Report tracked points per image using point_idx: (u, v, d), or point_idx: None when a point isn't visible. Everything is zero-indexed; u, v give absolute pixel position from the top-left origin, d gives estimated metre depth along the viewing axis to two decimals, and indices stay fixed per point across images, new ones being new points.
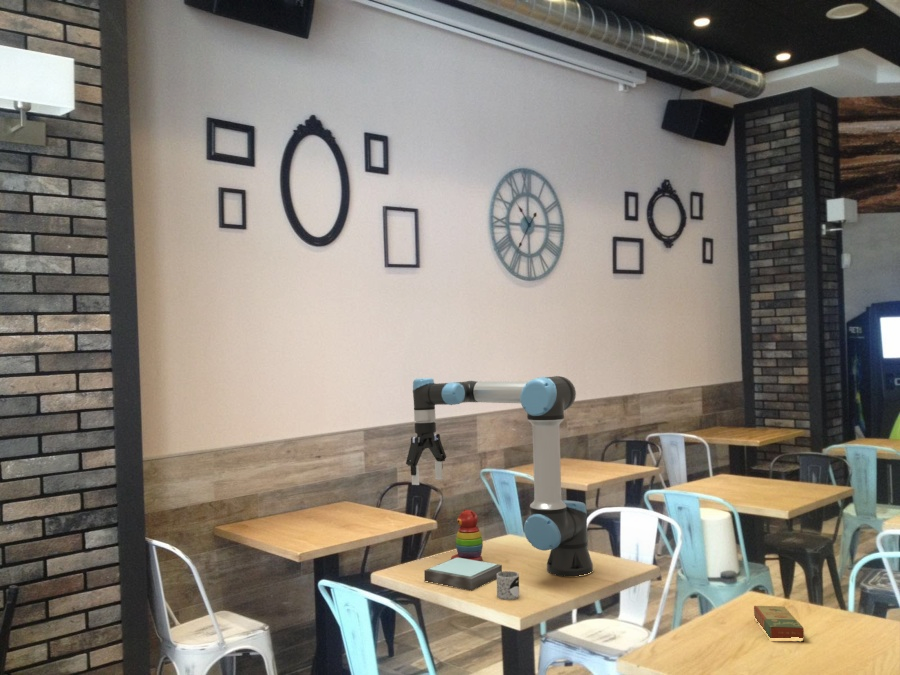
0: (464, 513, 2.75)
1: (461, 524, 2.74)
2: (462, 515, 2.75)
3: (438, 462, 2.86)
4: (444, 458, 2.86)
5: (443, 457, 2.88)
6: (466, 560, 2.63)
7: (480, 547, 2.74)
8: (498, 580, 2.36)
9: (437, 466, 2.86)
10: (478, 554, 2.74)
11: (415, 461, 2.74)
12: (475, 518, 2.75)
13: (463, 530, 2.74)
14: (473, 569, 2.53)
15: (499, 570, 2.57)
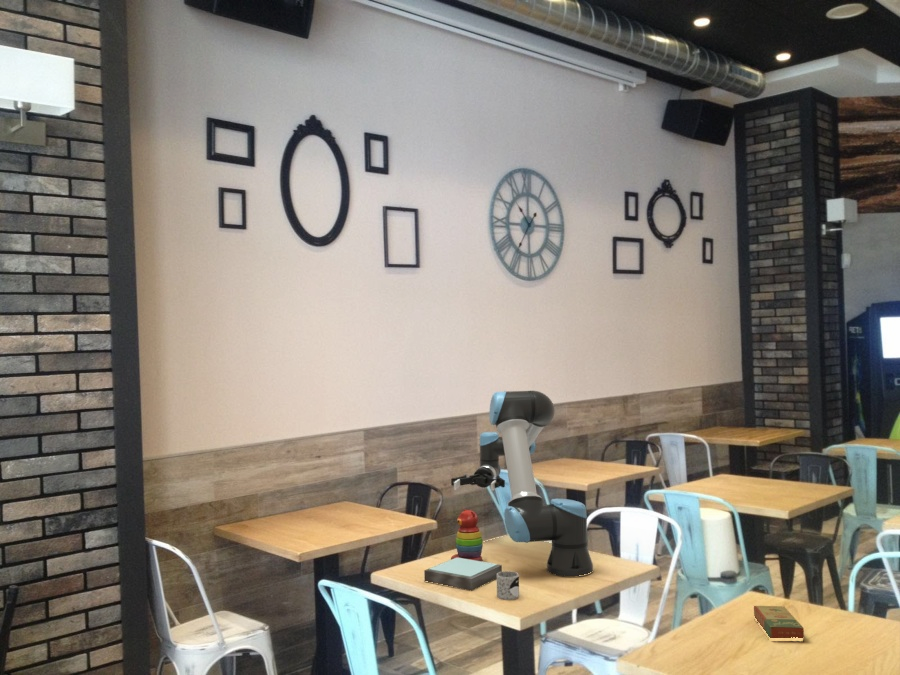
0: (464, 513, 2.75)
1: (461, 524, 2.74)
2: (462, 515, 2.75)
3: None
4: (499, 478, 2.92)
5: (501, 481, 2.92)
6: (466, 560, 2.63)
7: (480, 547, 2.74)
8: (498, 580, 2.36)
9: None
10: (478, 554, 2.74)
11: (457, 478, 2.96)
12: (475, 518, 2.75)
13: (463, 530, 2.74)
14: (473, 569, 2.53)
15: (499, 570, 2.57)
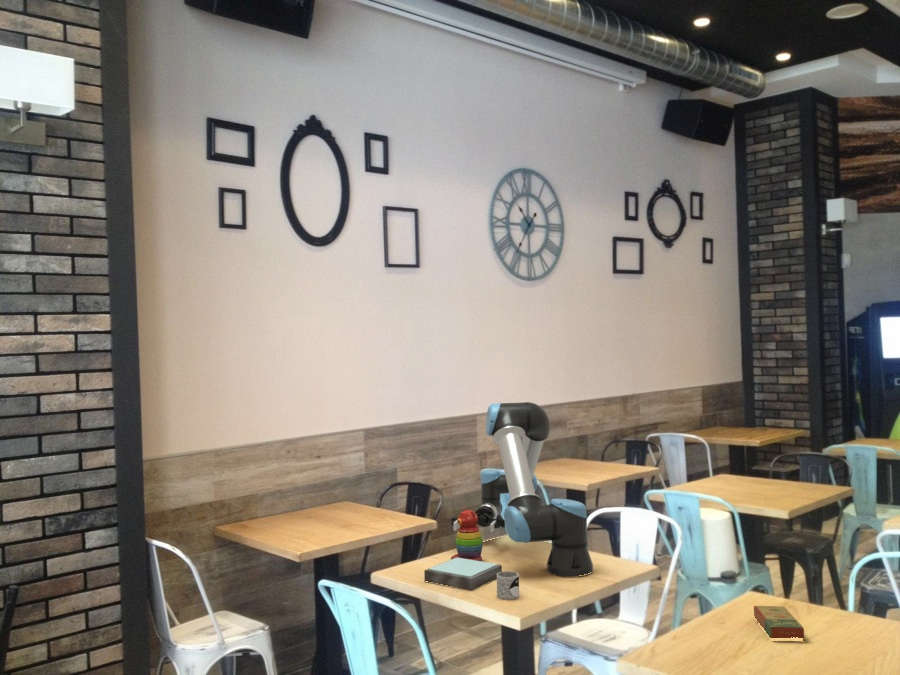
0: (464, 513, 2.75)
1: (461, 524, 2.74)
2: (462, 515, 2.75)
3: None
4: (499, 518, 2.90)
5: (501, 521, 2.90)
6: (466, 560, 2.63)
7: (480, 547, 2.74)
8: (498, 580, 2.36)
9: None
10: (478, 554, 2.74)
11: (457, 518, 2.95)
12: (475, 518, 2.75)
13: (463, 530, 2.74)
14: (473, 569, 2.53)
15: (499, 570, 2.57)
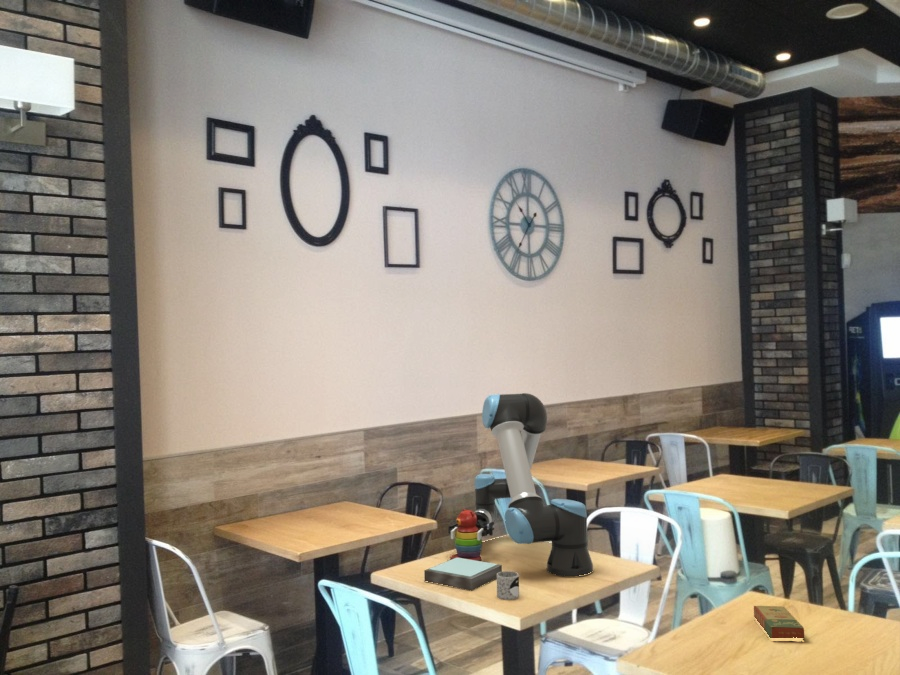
0: (463, 513, 2.75)
1: (460, 524, 2.74)
2: (461, 515, 2.75)
3: None
4: (486, 526, 2.78)
5: (489, 529, 2.78)
6: (466, 560, 2.63)
7: (479, 547, 2.74)
8: (498, 580, 2.36)
9: None
10: (477, 554, 2.74)
11: (454, 526, 2.82)
12: (474, 518, 2.75)
13: (462, 530, 2.74)
14: (473, 569, 2.53)
15: (499, 570, 2.57)
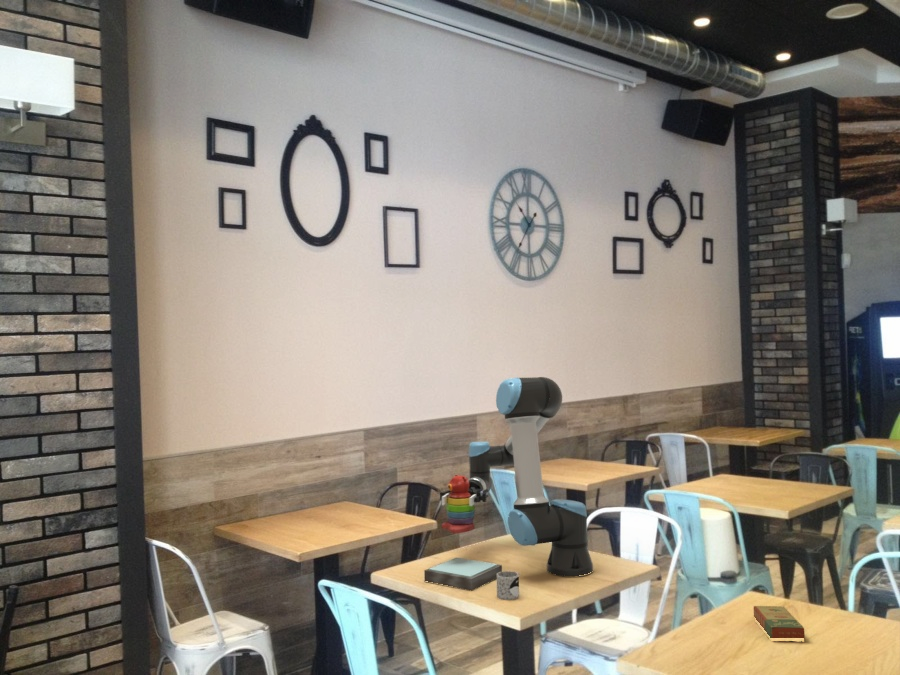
0: (455, 478, 2.63)
1: (452, 489, 2.62)
2: (453, 480, 2.63)
3: None
4: (479, 492, 2.66)
5: (482, 495, 2.66)
6: (466, 560, 2.63)
7: (472, 513, 2.62)
8: (498, 580, 2.36)
9: None
10: (469, 521, 2.62)
11: (446, 493, 2.70)
12: (466, 483, 2.63)
13: (454, 496, 2.62)
14: (473, 569, 2.53)
15: (499, 570, 2.57)
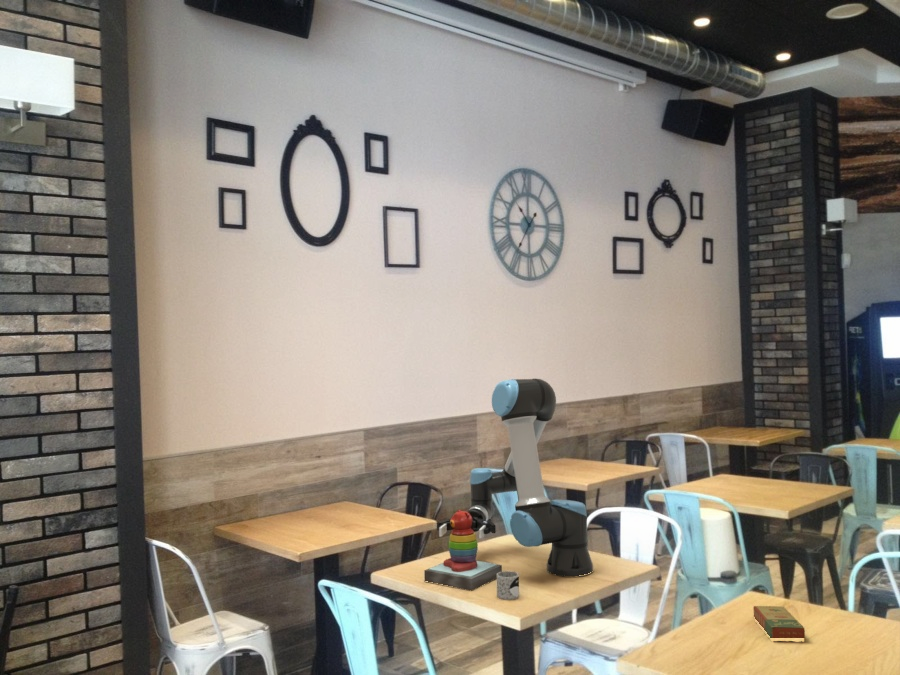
0: (457, 514, 2.55)
1: (454, 526, 2.54)
2: (455, 516, 2.55)
3: None
4: (489, 523, 2.58)
5: (491, 526, 2.58)
6: None
7: (475, 551, 2.54)
8: (498, 580, 2.36)
9: None
10: (472, 558, 2.53)
11: (444, 523, 2.63)
12: (469, 519, 2.54)
13: (456, 532, 2.54)
14: (473, 569, 2.53)
15: (499, 570, 2.57)
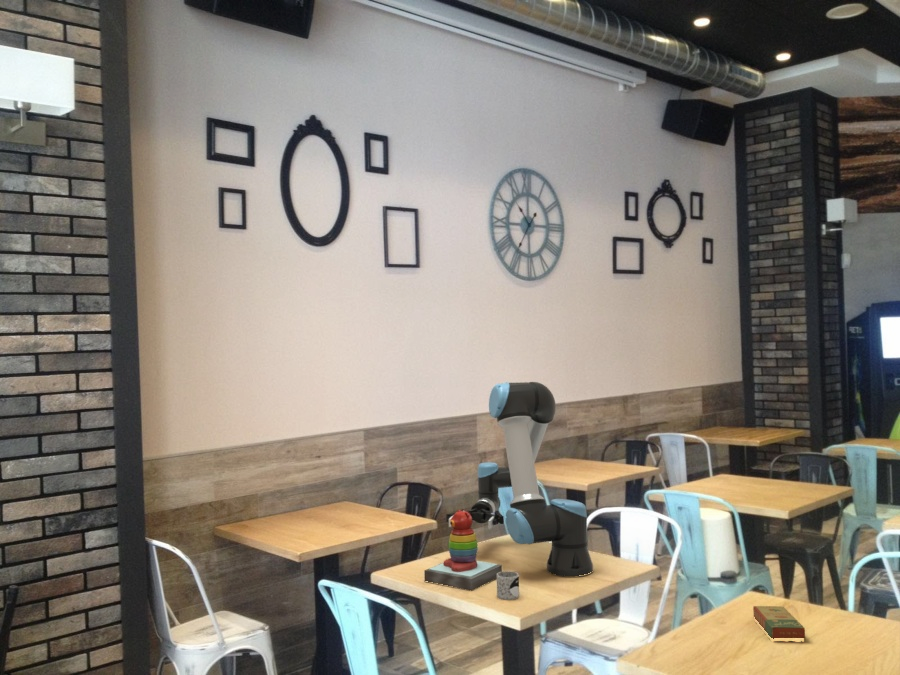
0: (457, 514, 2.55)
1: (454, 526, 2.54)
2: (455, 516, 2.55)
3: None
4: (497, 514, 2.71)
5: (499, 517, 2.71)
6: None
7: (475, 551, 2.54)
8: (498, 580, 2.36)
9: None
10: (472, 558, 2.53)
11: (453, 514, 2.76)
12: (469, 519, 2.54)
13: (456, 532, 2.54)
14: (473, 569, 2.53)
15: (499, 570, 2.57)
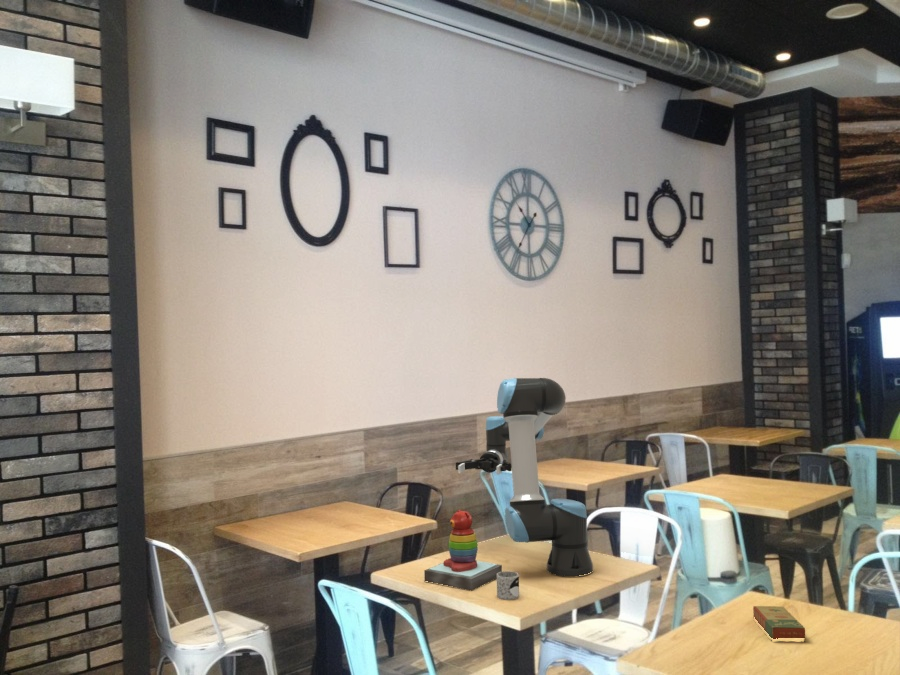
0: (457, 514, 2.55)
1: (454, 526, 2.54)
2: (455, 516, 2.55)
3: None
4: (505, 462, 2.81)
5: (507, 464, 2.81)
6: None
7: (475, 551, 2.54)
8: (498, 580, 2.36)
9: None
10: (472, 558, 2.53)
11: (462, 462, 2.85)
12: (469, 519, 2.54)
13: (456, 532, 2.54)
14: (473, 569, 2.53)
15: (499, 570, 2.57)
